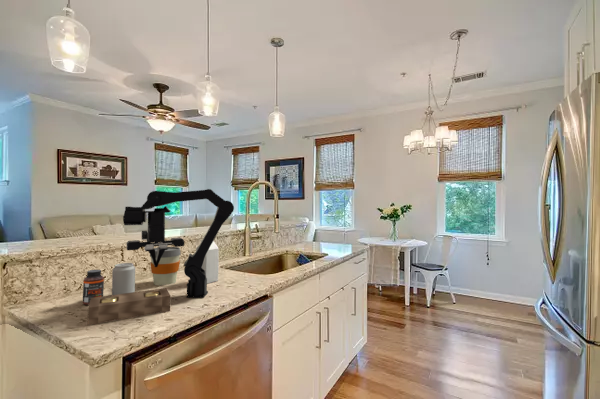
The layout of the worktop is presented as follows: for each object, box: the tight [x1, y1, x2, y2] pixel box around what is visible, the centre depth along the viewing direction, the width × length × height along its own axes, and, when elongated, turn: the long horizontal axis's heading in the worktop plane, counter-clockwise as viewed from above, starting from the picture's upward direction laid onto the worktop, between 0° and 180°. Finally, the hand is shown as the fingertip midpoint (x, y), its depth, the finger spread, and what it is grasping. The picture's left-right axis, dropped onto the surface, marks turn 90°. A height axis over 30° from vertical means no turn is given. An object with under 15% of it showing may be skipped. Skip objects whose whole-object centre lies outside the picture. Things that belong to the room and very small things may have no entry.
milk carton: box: [195, 239, 220, 285], centre depth 130 cm, size 7×7×19 cm
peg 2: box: [145, 292, 159, 297], centre depth 96 cm, size 4×4×5 cm
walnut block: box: [87, 287, 171, 326], centre depth 93 cm, size 22×10×5 cm, turn 122°
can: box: [111, 262, 136, 295], centre depth 109 cm, size 8×8×12 cm
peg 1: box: [102, 297, 117, 303], centre depth 90 cm, size 4×4×5 cm
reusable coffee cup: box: [149, 246, 182, 286], centre depth 128 cm, size 13×13×15 cm
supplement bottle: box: [82, 269, 105, 306], centre depth 101 cm, size 6×6×11 cm
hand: (155, 266), depth 106 cm, fingers closed
